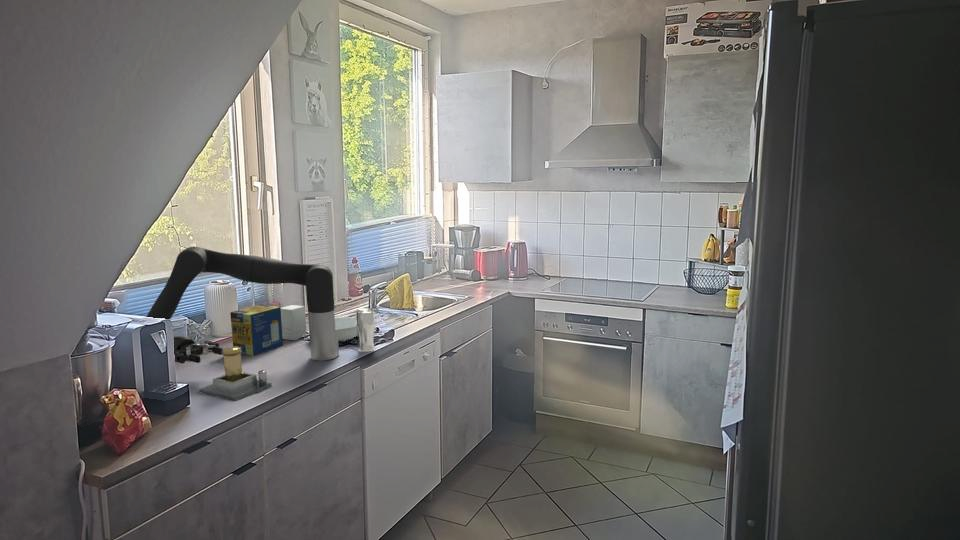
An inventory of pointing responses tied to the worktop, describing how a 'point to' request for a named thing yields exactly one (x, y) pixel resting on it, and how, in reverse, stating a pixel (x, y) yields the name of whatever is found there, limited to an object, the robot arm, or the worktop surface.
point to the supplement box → (293, 322)
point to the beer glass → (365, 329)
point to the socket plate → (237, 386)
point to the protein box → (257, 329)
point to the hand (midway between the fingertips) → (211, 355)
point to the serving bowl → (346, 328)
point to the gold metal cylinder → (232, 363)
